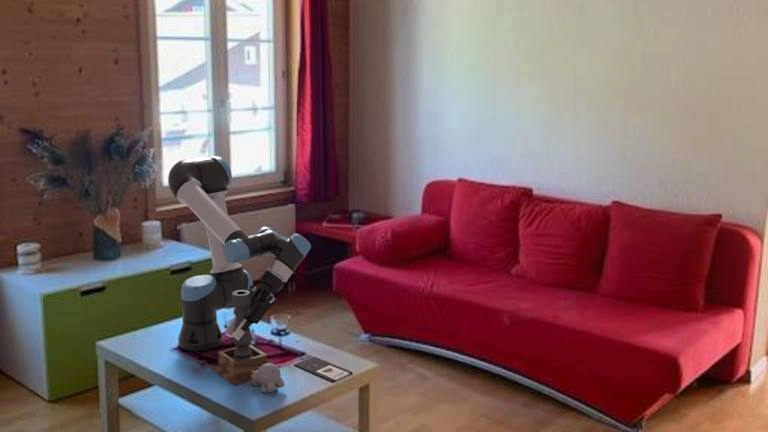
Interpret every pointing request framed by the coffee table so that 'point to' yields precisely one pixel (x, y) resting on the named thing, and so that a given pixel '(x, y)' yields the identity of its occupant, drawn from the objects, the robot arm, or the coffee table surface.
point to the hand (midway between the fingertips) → (231, 335)
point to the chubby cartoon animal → (267, 377)
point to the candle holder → (241, 311)
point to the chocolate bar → (323, 369)
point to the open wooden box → (239, 365)
